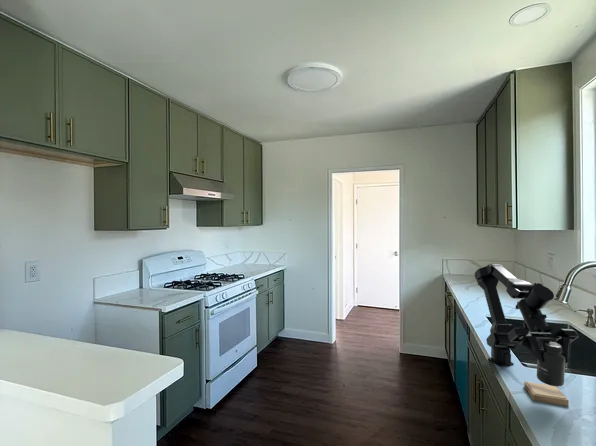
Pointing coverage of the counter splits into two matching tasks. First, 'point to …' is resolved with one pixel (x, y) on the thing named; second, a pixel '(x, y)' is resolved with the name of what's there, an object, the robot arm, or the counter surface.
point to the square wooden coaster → (546, 393)
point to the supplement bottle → (551, 364)
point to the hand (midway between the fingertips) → (554, 362)
